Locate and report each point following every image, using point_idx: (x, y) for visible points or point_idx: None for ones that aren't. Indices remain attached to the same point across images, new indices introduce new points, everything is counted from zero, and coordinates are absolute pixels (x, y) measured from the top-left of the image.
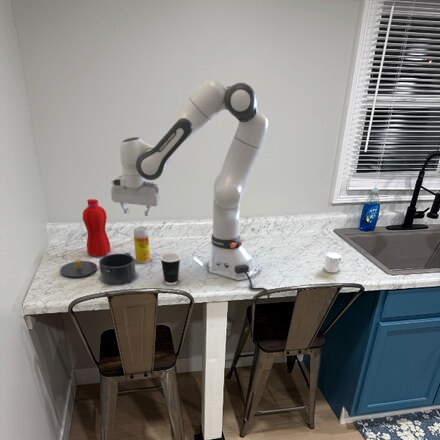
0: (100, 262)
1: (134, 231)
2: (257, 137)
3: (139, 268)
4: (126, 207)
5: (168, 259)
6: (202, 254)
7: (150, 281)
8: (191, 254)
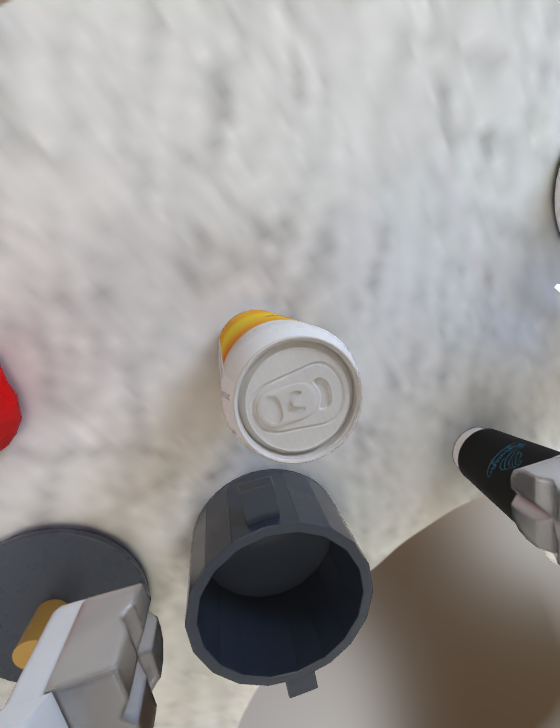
0: (225, 672)
1: (260, 454)
2: None
3: None
4: (28, 724)
5: None
6: (490, 100)
7: (401, 489)
8: (438, 130)
